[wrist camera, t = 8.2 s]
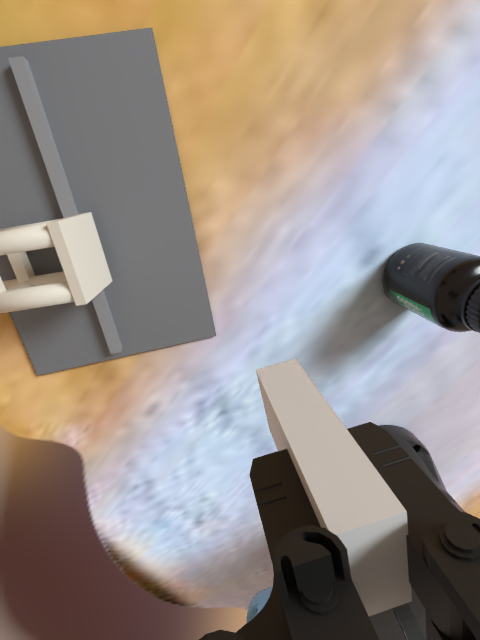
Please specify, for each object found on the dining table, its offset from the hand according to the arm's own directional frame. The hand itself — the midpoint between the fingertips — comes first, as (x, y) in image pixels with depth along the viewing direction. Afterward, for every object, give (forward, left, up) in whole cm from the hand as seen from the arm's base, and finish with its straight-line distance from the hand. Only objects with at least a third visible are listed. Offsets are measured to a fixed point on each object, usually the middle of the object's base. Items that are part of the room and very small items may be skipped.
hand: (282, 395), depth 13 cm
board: (+6, +10, -23) cm, 26 cm away
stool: (+4, +10, -18) cm, 21 cm away
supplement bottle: (-5, -21, -23) cm, 31 cm away
